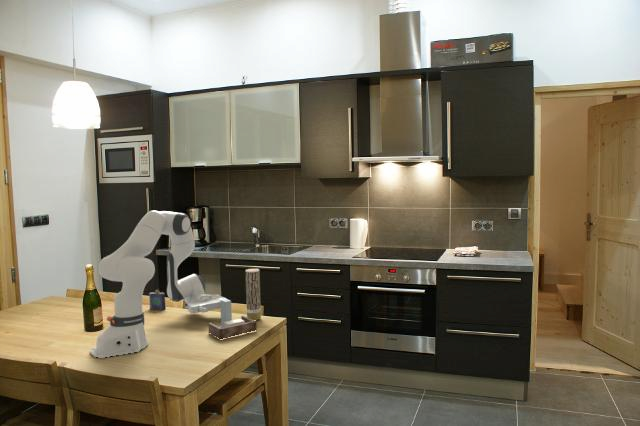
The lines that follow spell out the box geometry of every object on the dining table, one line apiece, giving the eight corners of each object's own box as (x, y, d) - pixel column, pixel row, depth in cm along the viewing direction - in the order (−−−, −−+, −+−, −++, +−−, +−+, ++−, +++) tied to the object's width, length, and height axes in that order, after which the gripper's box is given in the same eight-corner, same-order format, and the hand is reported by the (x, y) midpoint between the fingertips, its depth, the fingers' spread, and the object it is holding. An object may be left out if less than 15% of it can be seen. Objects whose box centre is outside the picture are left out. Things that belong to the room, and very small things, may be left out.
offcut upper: (228, 330, 222) (228, 324, 222) (224, 328, 226) (224, 321, 226) (244, 327, 226) (244, 321, 226) (240, 325, 230) (240, 318, 230)
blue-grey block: (226, 331, 229) (225, 301, 228) (221, 329, 233) (220, 299, 232) (232, 330, 231) (231, 300, 230) (227, 327, 235) (226, 298, 234)
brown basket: (220, 340, 217) (220, 329, 217) (208, 333, 227) (208, 323, 226) (256, 332, 228) (256, 321, 228) (243, 325, 238) (243, 315, 237)
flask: (148, 309, 271) (148, 290, 270) (151, 308, 273) (151, 288, 273) (164, 310, 268) (163, 290, 268) (167, 308, 271) (166, 289, 270)
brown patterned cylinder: (244, 320, 246) (242, 270, 244) (252, 316, 252) (250, 268, 250) (255, 322, 243) (254, 271, 241) (263, 318, 249) (262, 269, 247)
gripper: (183, 300, 245) (194, 306, 234) (221, 293, 257) (233, 298, 246) (183, 313, 245) (195, 319, 234) (221, 305, 258) (234, 311, 247)
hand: (215, 308), depth 240 cm, fingers open, 8 cm apart
